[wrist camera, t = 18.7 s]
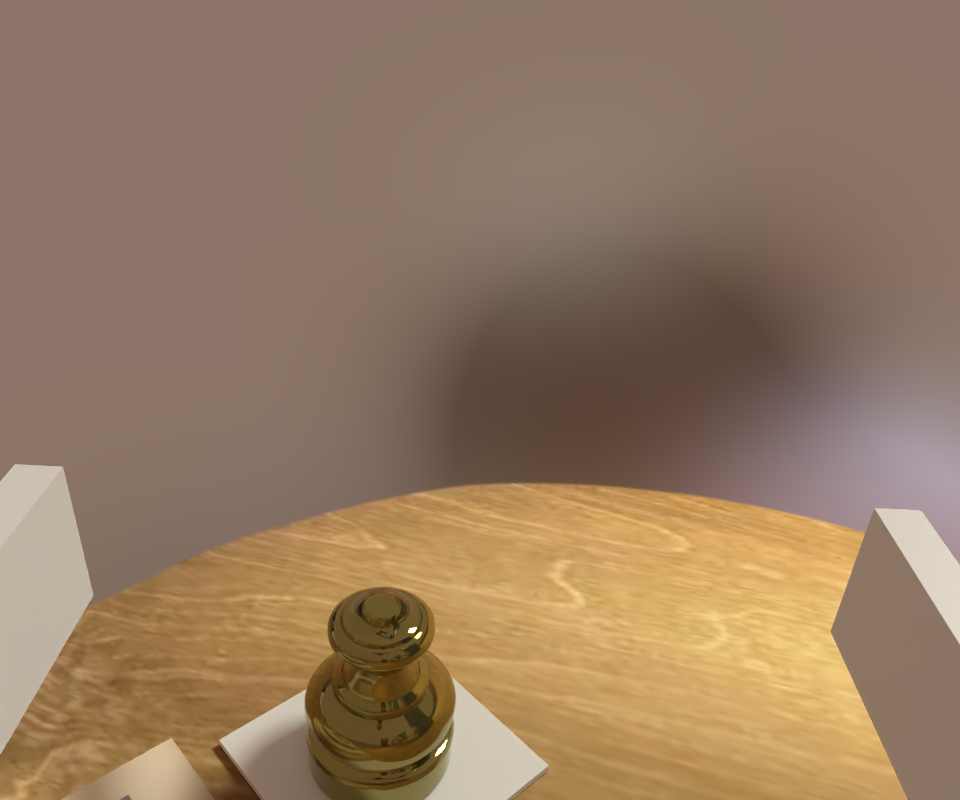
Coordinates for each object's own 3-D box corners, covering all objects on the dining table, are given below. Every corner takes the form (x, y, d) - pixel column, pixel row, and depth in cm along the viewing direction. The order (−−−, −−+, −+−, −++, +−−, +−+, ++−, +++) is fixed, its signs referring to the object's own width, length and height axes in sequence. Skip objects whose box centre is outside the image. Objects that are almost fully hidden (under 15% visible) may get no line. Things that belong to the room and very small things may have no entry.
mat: (403, 637, 51) (403, 632, 51) (547, 770, 44) (548, 765, 44) (219, 745, 44) (219, 740, 44) (356, 926, 37) (356, 921, 36)
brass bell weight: (445, 690, 48) (454, 550, 43) (459, 812, 41) (471, 663, 36) (310, 698, 47) (303, 555, 42) (303, 824, 40) (294, 673, 35)
